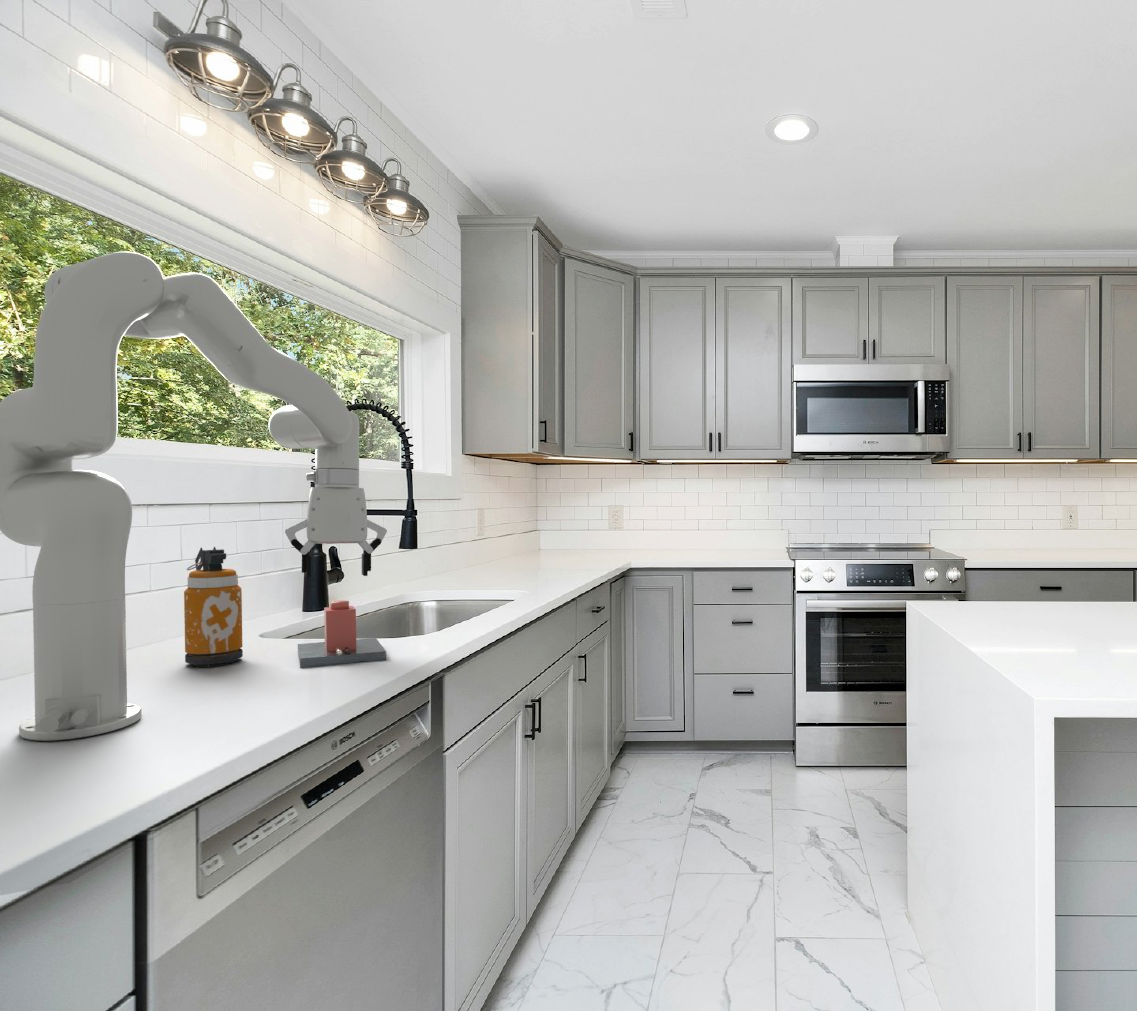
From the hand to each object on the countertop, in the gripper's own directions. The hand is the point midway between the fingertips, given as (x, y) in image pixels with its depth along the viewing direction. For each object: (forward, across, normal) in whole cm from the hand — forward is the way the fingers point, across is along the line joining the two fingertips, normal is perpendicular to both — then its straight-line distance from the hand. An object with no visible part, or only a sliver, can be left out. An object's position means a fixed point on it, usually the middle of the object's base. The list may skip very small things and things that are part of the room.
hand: (336, 576), depth 130 cm
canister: (+15, -20, +6) cm, 26 cm away
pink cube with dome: (+13, +1, +1) cm, 13 cm away
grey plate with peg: (+14, +1, +1) cm, 14 cm away
